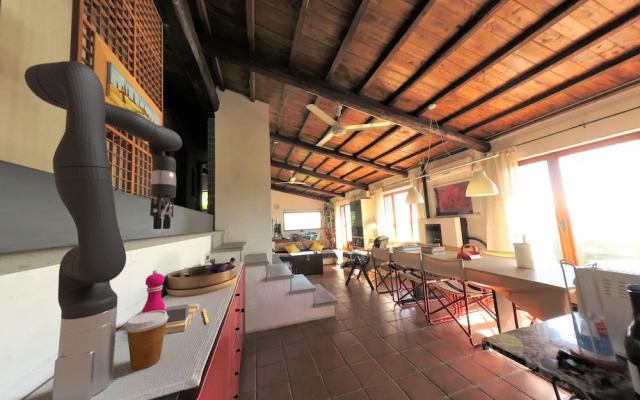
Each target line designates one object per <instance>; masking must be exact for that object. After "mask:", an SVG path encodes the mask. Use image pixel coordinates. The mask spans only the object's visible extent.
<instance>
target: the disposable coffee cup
mask: <svg viewBox="0 0 640 400" xmlns="http://www.w3.org/2000/svg"><path fill="white" fill-rule="evenodd" d="M168 318H169V316H168V315H167V312H166V311H162V310H159V311H151V312H146V313H143V314H142V313H140V314H137V315H135V316H132V317H131V318H129V319H128V320H127V322H126V324H125V326H124V330H125V331H126V332H127V334H126V335H127V344H128V352H129V361H130V369H131V370H133V371H140V370H145V369H147V368H149V367H152V366H154V365H155V364H157V363H158V362H159V361H160V360H161V357H162V350H163V344H164V338H165V334H164V333H165V327H166V322H167V319H168Z"/></svg>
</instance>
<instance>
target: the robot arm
mask: <svg viewBox="0 0 640 400" xmlns="http://www.w3.org/2000/svg"><path fill="white" fill-rule="evenodd" d="M24 80H25V83H26V86H27V87H28V88H29V89H30V91H31V92H32V93H33V94H34V95H35V96H36V97H37V98H39V99H40V100H42V101H43V102H46V103H47V104H49V105H51V106H54V107H55V108H56V107H57V108H60V109H62V110H65V111H67V114H68V115H67V116H68V117H67V125H66V127H65V131H64V132H63V135H62V137H61V139H60V140H59V143H58V144H57V146H56V149H55V152H54V154H53V158H52V169H53V170H52V171H53V177H54V183H55V188H56V191H57V193H58V196H59V198H60V199H61V200H60V201H62V203H63V205H64V207H65V208H66V210H67V211H68V213H69V215H70V216H71V218H72V220H73V222H74V225H75V228H76V232H77V241H78V243H77V244H78V245H76V246H74V247H72V248H70V249H69V250H68V251H67V252H66V253H65V254H64V255H63V257H62V259H61V261H60V265H59V269H58V281H57V282H58V284H57V285H58V286H57V292H58V293H57V302H58V305H59V307H60V310H61V313H60V315H61V316H60V318H61V319H60V328H59V329H60V330H59V338H58V339H59V340H58V350H57V358H56V359H55V360H54V367H53V368H54V369H53V381H52V392H51V393H52V394H51V395H52V396H51V400H90V399H91V398H93V397H94V396H96V395H98V393H100V392H102V391H103V390H105V389H106V388H107V387H109V386H110V385H111V383H112V382H113V380H114V370H115V369H114V368H115V367H114V366H115V355H116V354H115V353H116V335H117V334H116V333H117V318H118V316H117V315H118V314H117V313H118V294H117V293H116V292H115V291H114V290H113V288H112V286H111V281H112V280H114V279H116V278H117V277H118V276H119V275H120V274H121V273H122V272H123V271H124V268H125V267H126V264H127V253H126V249H125V246H124V245H125V244H124V242H123V239H122V238H123V237H122V235H121V232H120V228H119V227H120V226H119V224H118V218H117V211H116V204H115V197H114V195H115V194H114V190H113V187H114V186H113V180H112V179H113V178H112V173H111V172H112V171H111V165H110V159H109V154H108V153H109V152H108V143H107V134H106V133H107V132H106V125H108V126H111V127H113V128H116V129H118V130H120V131H123V132H124V133H127V134H128V135H131V136H133V137H135V138H137V139H138V140H141V141H143V142H146V143H147V144H148V148H149V151H150V155H151V158H152V159H151V160H152V174H151V177H150V179H151V180H150V198H151V199H150V210H149V216H151V217H152V218H153V221H152V222H153V225H152V227H153V228H152V229H153V230H161V229H163V230H168V229H171V223H172V222H171V219H172V218H174V202H173V201H171V199H175V198H176V196H177V194H176V193H177V175H176V173H177V172H176V169H177V161H176V159H175V158H174V157H172V156H169V155H166V153H165V152H171V151H172V152H173V151H175V152H176V151H179V150H180V149H181V148H182V147H183V140H182V138H181V136H180V135H179V134H178V133H177V132H175V130H172V129H170V128H168V127H166V126H162V125H159V124H156V123H154V122H152V120H149V118H146V117H145V116H143V115H141V114H140V113H138V112H135V111H133V110H130V109H127V108H125V107H122V106H118V105H114V104H112V103H110V102H108V101H107V102H106V96H105V95H106V94H105V89H104V86H103V84H102V81H101V79H100V77H99V76H98V75H97V73H96V72H95V71H94V70H93V69H92V68H91V67H90V66H88V65H87V64H85V63H83V62H81V61H76V60H75V61H73V60H65V61H55V62H47V63H46V62H44V63H38V64H34V65H31V66H29V67H28V68H26V70H25V71H24Z"/></svg>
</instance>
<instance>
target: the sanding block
mask: <svg viewBox="0 0 640 400" xmlns="http://www.w3.org/2000/svg"><path fill="white" fill-rule="evenodd" d="M189 305H190V304H189V303H187V304H181V305H179V304H178V305H173V306H172V305H171V306H167V307H165V310H164V311H166V312H167V315H168V316H169V318H168V319H167V322H166V325H172V324H178V323H185V322H186V321H187V319H188V318H189Z"/></svg>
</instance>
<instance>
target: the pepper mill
mask: <svg viewBox="0 0 640 400" xmlns="http://www.w3.org/2000/svg"><path fill="white" fill-rule="evenodd" d="M144 282H145V285H146V286H147V288H146V292H147V298H146V301H145V303H144V305H143V308H142V311H141V312H142V313H141V314H143V313H146V312H151V311H159V310H162V311H164V310H165V309H166V305H165V302H164V300H163V298H162V289H163V283H164V282H165V276H164V274H162V273H159V270H158V269H153V270H152V274H150V275H148V276H147V277H146V279H145V281H144Z"/></svg>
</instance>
